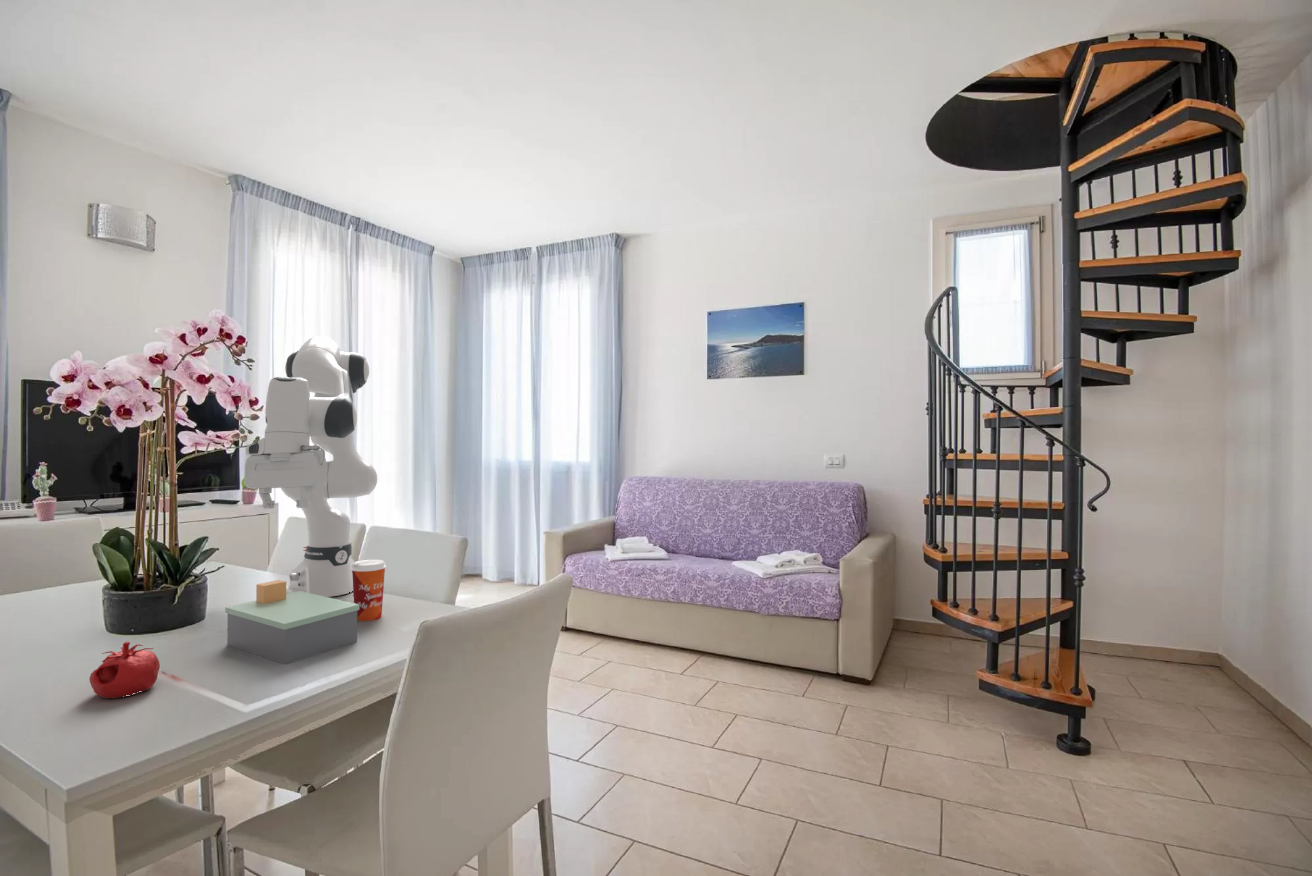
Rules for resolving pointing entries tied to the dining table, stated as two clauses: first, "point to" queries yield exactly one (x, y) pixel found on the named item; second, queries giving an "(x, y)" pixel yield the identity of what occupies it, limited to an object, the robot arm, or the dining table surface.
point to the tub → (291, 637)
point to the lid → (289, 606)
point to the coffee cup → (368, 588)
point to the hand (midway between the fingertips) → (285, 508)
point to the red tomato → (125, 672)
